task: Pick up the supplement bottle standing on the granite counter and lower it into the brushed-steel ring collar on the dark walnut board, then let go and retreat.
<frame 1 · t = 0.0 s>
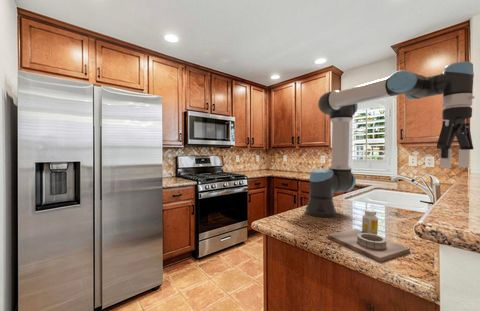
hand: (454, 167, 79), 28 cm above the counter, fingers open, 13 cm apart
supplement bottle: (369, 234, 89), on the counter
ring board: (365, 244, 79), on the counter
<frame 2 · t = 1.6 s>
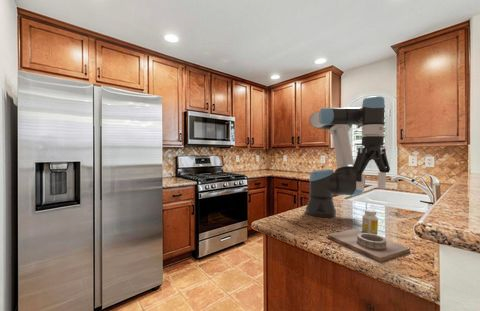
hand: (371, 189, 89), 18 cm above the counter, fingers open, 13 cm apart
nothing on the counter moved.
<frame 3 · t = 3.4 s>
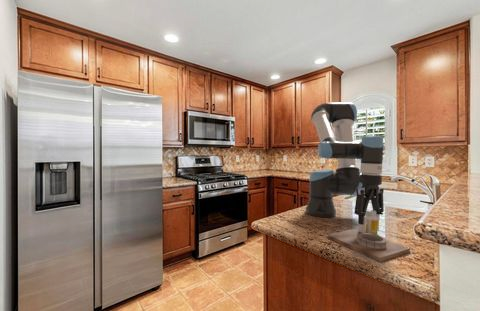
hand: (368, 230, 89), 1 cm above the counter, fingers open, 7 cm apart
nothing on the counter moved.
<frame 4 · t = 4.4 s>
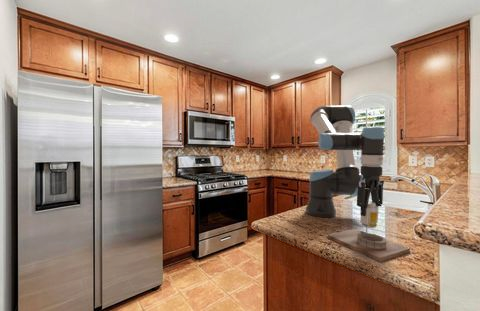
hand: (369, 222, 90), 5 cm above the counter, fingers closed on supplement bottle, 5 cm apart
supplement bottle: (368, 226, 90), point 3 cm above the counter, touching gripper
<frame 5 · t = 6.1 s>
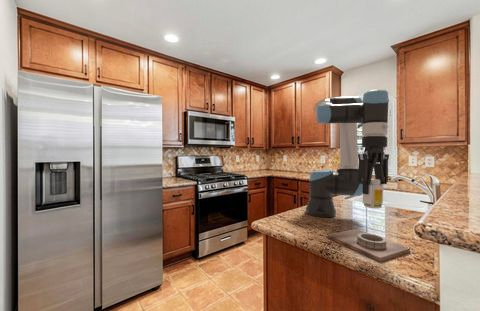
hand: (372, 202, 77), 15 cm above the counter, fingers closed on supplement bottle, 5 cm apart
supplement bottle: (372, 207, 77), point 14 cm above the counter, touching gripper
when the fingers open (4 cm above the counter, at t = 7.8 s): supplement bottle stays where it is, resting on ring board.
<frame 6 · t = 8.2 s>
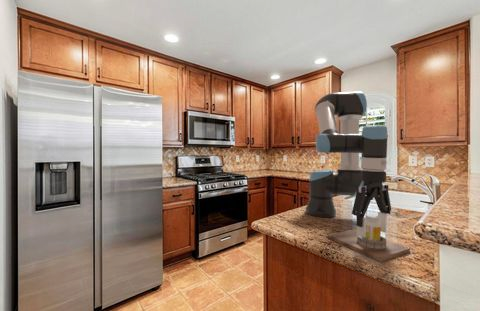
hand: (371, 233, 77), 5 cm above the counter, fingers open, 10 cm apart
supplement bottle: (371, 243, 77), point 1 cm above the counter, touching ring board
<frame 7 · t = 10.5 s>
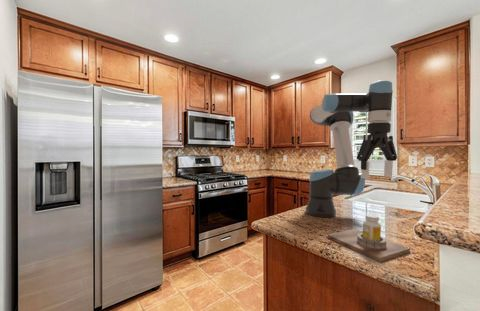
hand: (376, 177, 86), 23 cm above the counter, fingers open, 13 cm apart
nothing on the counter moved.
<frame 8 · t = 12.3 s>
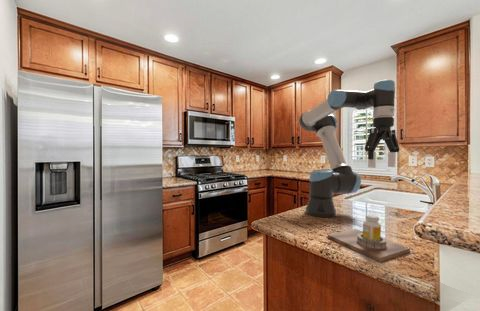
hand: (381, 167, 95), 27 cm above the counter, fingers open, 13 cm apart
nothing on the counter moved.
at the end: supplement bottle 0.1 cm from the target spot, point 1.0 cm above the counter; supplement bottle tilted 0°; the gripper is holding nothing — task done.
